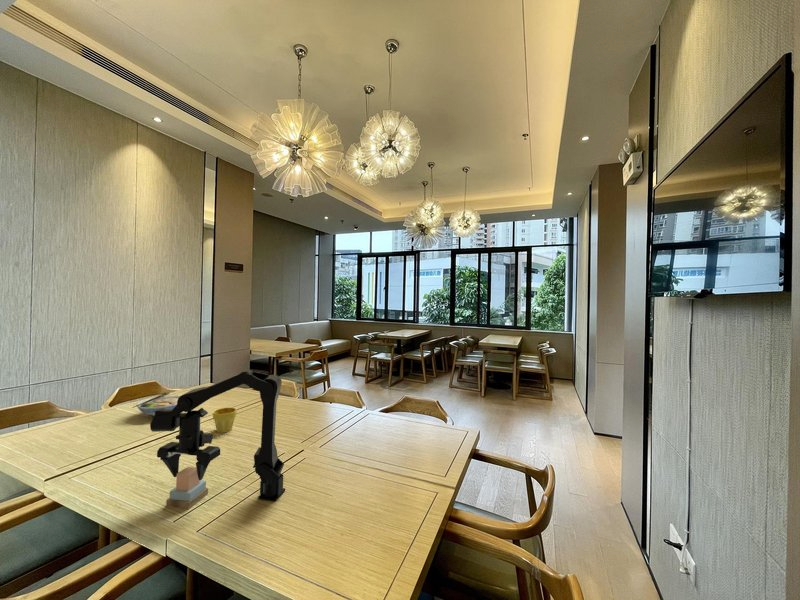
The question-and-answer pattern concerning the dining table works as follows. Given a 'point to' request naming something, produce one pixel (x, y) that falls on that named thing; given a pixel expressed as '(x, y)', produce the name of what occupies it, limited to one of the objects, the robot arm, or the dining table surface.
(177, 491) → the blue slab
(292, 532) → the dining table surface
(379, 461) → the dining table surface
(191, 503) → the walnut slab
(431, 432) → the dining table surface
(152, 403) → the ramen bowl
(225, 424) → the plant pot
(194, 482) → the clay block
